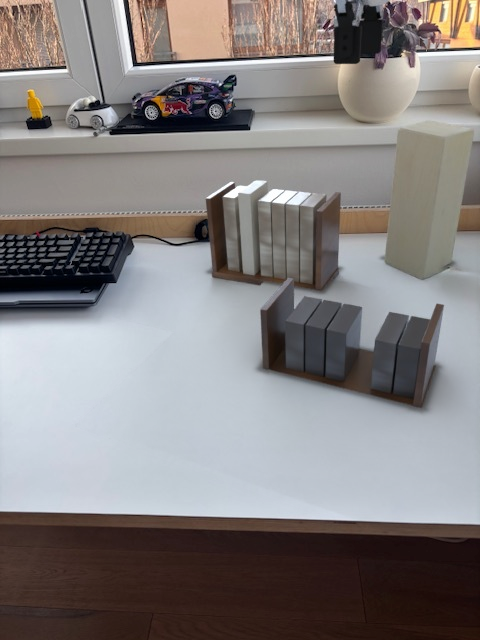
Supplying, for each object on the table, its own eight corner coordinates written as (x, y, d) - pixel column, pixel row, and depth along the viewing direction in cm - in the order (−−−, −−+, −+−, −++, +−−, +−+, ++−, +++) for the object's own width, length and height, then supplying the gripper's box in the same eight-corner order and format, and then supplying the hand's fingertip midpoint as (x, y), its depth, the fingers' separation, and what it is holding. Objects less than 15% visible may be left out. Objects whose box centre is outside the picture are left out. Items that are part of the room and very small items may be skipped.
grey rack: (435, 372, 63) (446, 304, 58) (421, 415, 57) (432, 344, 52) (287, 339, 70) (286, 277, 65) (261, 374, 64) (258, 309, 59)
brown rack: (339, 273, 85) (342, 192, 78) (321, 296, 79) (323, 211, 72) (234, 256, 92) (229, 181, 86) (211, 276, 87) (204, 198, 80)
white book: (270, 259, 88) (267, 181, 81) (254, 275, 84) (250, 193, 77) (259, 257, 89) (255, 180, 82) (242, 273, 85) (237, 192, 78)
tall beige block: (455, 266, 84) (478, 126, 73) (423, 281, 81) (443, 136, 70) (414, 250, 90) (430, 118, 79) (383, 263, 87) (395, 127, 76)
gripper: (379, -123, 53) (368, 68, 62) (416, -107, 66) (402, 49, 75) (307, -113, 56) (306, 68, 65) (356, -99, 69) (349, 50, 78)
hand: (358, 58), depth 70 cm, fingers open, 9 cm apart
